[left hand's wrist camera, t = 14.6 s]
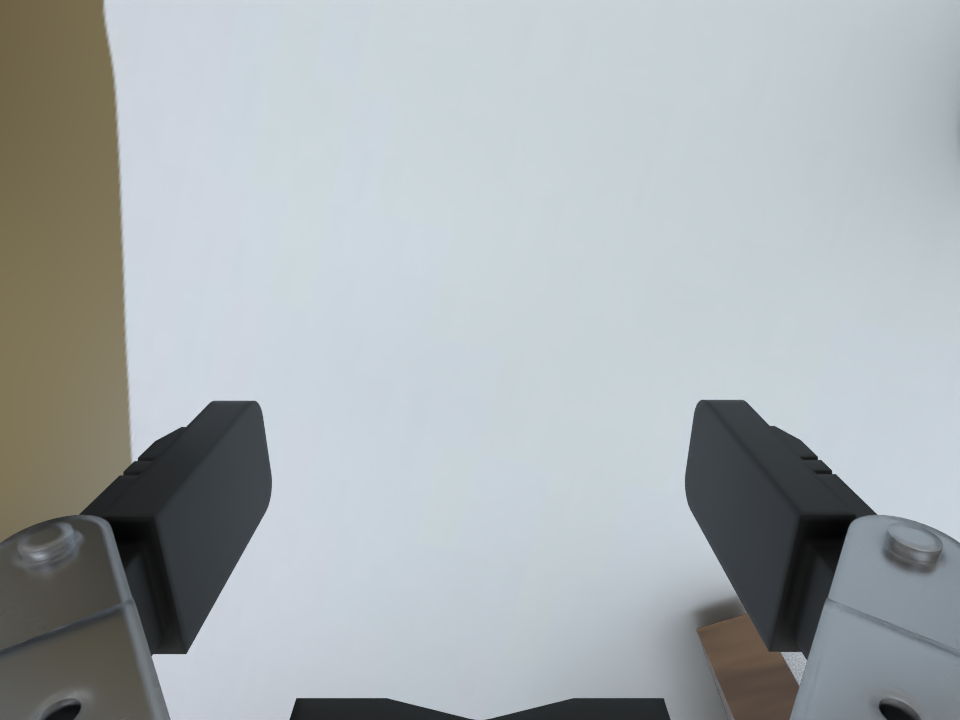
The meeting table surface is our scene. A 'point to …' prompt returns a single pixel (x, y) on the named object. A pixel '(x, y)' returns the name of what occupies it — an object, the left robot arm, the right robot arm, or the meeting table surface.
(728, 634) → the bar
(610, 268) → the meeting table surface
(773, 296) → the meeting table surface
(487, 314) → the meeting table surface
